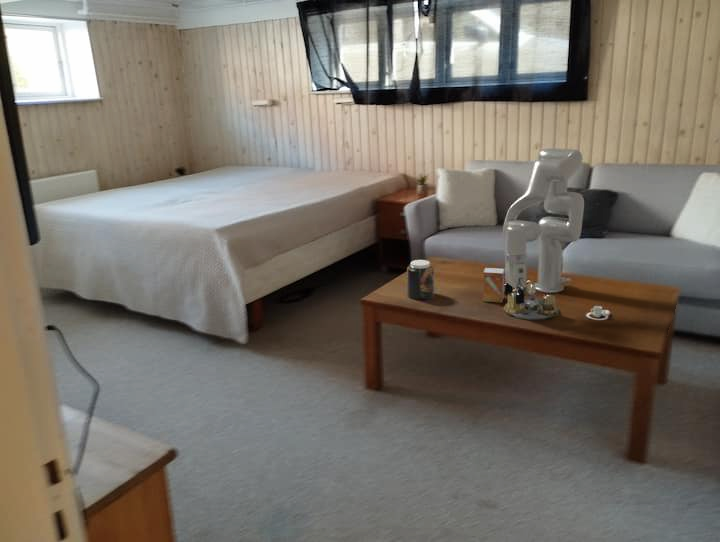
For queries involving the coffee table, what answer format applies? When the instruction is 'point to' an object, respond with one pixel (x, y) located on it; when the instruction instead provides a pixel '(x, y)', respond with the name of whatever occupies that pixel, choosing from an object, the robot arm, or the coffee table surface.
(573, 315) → the coffee table surface
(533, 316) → the carrier
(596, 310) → the teacup and saucer
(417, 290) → the jar
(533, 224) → the robot arm
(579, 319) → the coffee table surface
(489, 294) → the small box
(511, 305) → the gear
